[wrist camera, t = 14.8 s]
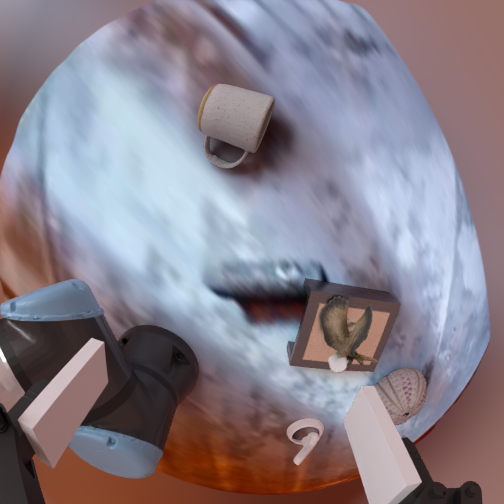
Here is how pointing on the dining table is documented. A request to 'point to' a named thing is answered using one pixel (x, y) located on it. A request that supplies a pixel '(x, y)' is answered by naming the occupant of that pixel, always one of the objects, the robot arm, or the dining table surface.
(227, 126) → the ceramic mug
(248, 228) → the dining table surface
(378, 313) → the dark boxy piece
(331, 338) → the eagle figurine
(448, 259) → the dining table surface
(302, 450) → the vr controller
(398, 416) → the sea urchin shell
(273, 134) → the dining table surface
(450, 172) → the dining table surface
